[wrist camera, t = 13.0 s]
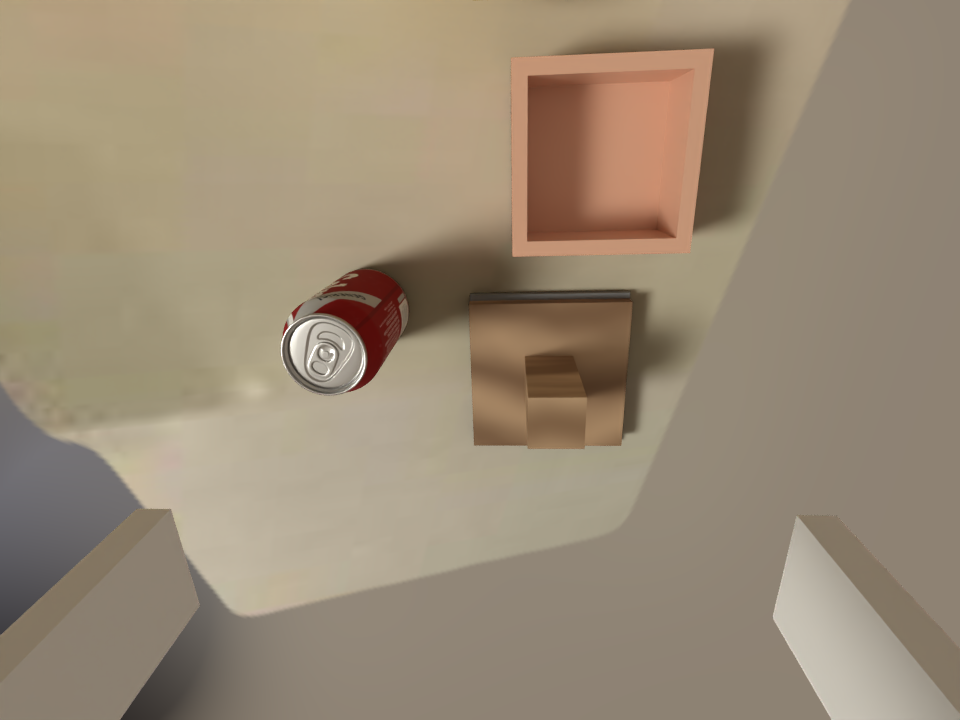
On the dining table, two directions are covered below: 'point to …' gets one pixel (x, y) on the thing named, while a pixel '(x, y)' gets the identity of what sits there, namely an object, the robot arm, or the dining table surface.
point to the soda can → (344, 332)
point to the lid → (549, 371)
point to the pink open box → (607, 151)
